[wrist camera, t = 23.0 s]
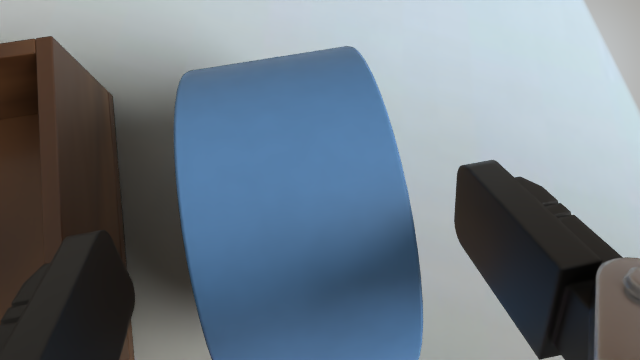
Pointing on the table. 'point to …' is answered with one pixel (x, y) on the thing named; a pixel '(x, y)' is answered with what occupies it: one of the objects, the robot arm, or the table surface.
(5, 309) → the wooden box
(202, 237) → the tape roll
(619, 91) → the table surface
